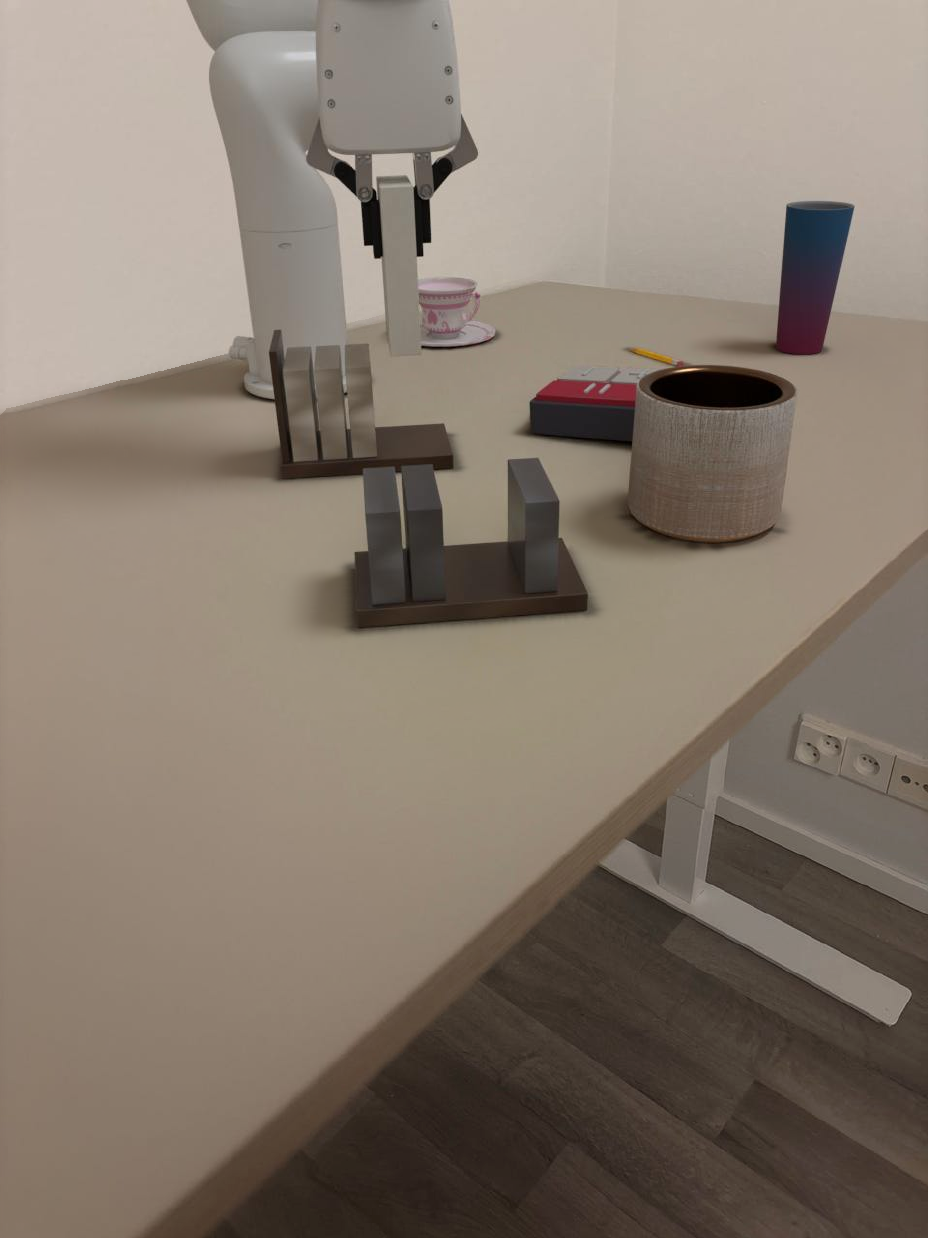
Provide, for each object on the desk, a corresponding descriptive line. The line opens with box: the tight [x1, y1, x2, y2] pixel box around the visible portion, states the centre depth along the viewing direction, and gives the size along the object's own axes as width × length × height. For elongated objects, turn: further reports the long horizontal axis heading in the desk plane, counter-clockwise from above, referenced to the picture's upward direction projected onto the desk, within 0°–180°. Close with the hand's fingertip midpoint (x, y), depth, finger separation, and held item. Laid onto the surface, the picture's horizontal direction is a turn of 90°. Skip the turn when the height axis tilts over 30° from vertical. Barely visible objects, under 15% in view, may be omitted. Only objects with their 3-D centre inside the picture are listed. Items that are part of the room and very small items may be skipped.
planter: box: [627, 364, 798, 543], centre depth 68 cm, size 11×11×10 cm
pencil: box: [628, 348, 685, 367], centre depth 107 cm, size 1×9×1 cm, turn 33°
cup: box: [775, 200, 855, 355], centre depth 105 cm, size 7×7×15 cm
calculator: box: [528, 364, 663, 443], centre depth 87 cm, size 11×4×15 cm
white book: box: [375, 174, 422, 358], centre depth 75 cm, size 2×8×12 cm, turn 6°
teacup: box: [418, 276, 496, 348], centre depth 116 cm, size 12×12×6 cm
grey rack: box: [353, 457, 589, 628], centre depth 60 cm, size 14×8×7 cm, turn 96°
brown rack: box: [269, 330, 454, 480], centre depth 80 cm, size 14×8×10 cm, turn 96°
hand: (397, 252), depth 75 cm, fingers closed on white book, 2 cm apart
